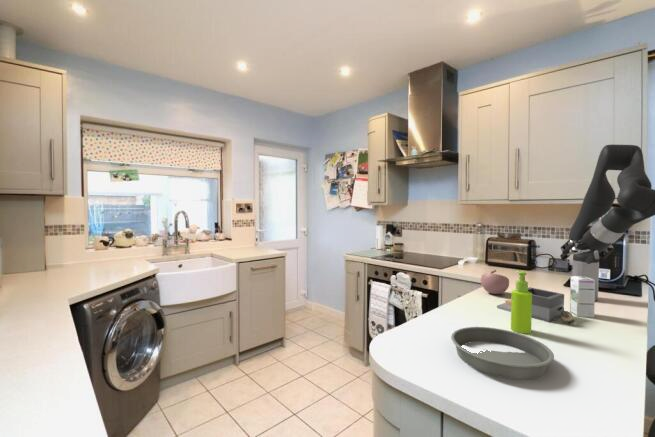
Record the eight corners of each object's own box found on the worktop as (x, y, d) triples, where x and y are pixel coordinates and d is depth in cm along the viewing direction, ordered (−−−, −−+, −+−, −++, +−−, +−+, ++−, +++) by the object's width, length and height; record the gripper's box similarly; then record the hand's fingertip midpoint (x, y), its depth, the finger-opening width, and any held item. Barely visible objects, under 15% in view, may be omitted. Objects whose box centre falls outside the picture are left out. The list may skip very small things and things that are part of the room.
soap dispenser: (527, 327, 108) (528, 270, 108) (533, 334, 102) (535, 274, 101) (508, 325, 110) (509, 268, 110) (512, 332, 104) (514, 272, 103)
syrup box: (595, 317, 118) (596, 279, 117) (577, 316, 119) (578, 278, 118) (585, 312, 123) (587, 276, 123) (568, 311, 125) (570, 275, 124)
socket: (512, 303, 135) (512, 283, 135) (563, 316, 119) (564, 294, 119) (496, 307, 129) (497, 287, 129) (548, 322, 113) (549, 299, 113)
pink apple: (509, 292, 152) (510, 269, 151) (508, 298, 142) (508, 273, 141) (482, 289, 158) (482, 266, 158) (479, 294, 148) (479, 270, 148)
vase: (559, 325, 110) (559, 308, 110) (554, 321, 115) (554, 305, 116) (578, 327, 108) (577, 309, 109) (572, 323, 113) (571, 306, 114)
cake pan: (577, 375, 78) (578, 357, 78) (499, 391, 71) (499, 372, 71) (498, 336, 102) (498, 322, 101) (433, 345, 95) (433, 331, 94)
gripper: (622, 227, 105) (591, 254, 118) (577, 222, 107) (551, 249, 119) (632, 245, 101) (598, 271, 113) (584, 239, 102) (557, 265, 115)
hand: (574, 260), depth 116 cm, fingers open, 8 cm apart
